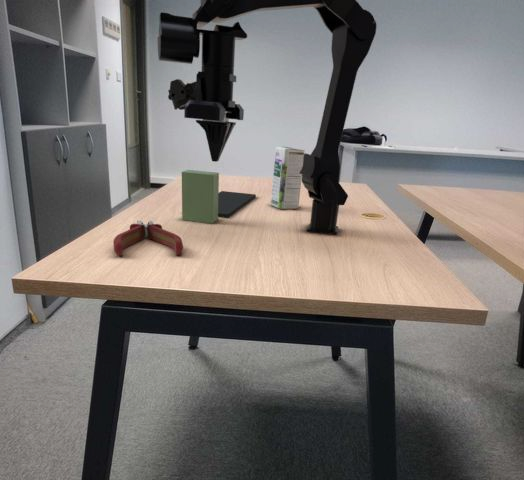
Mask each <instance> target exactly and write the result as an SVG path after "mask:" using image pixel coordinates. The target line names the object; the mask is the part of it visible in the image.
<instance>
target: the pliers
mask: <svg viewBox="0 0 524 480" xmlns="http://www.w3.org/2000/svg"><path fill="white" fill-rule="evenodd" d="M146 236H147V238H148V239H149V240H152V241H156V242H158V243H160V244H162V245H165V246H167V247H170V248H172V249H173V250H174V253H175V255H176V256H178V255H181V254H182V253H183V251H184V246H183V245H184V244H183V240H182V238H181V237H180V236H179V235H178V234H177V233H174V232H172V231H169V230H166V229H163V226H162V225H161V224H159V223H154V222H153V220H149V221H148V222H147V223H144V222H143V221H142V220H139V219H138V220H136V223H132V224H130V225H129V229H128V230H126V231H123V232H120V233H119V234H117V235H116V236H115V237H114V238H113V241H112V242H113V243H112V244H113V249H114V252H115V254H116V255H117V256H122V257H123V250H124V249H126V248H127V247H129V246H131V245H133V244H135V243H137V242H139V241H142V240H143V241H144V239H145V238H146Z"/></svg>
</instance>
